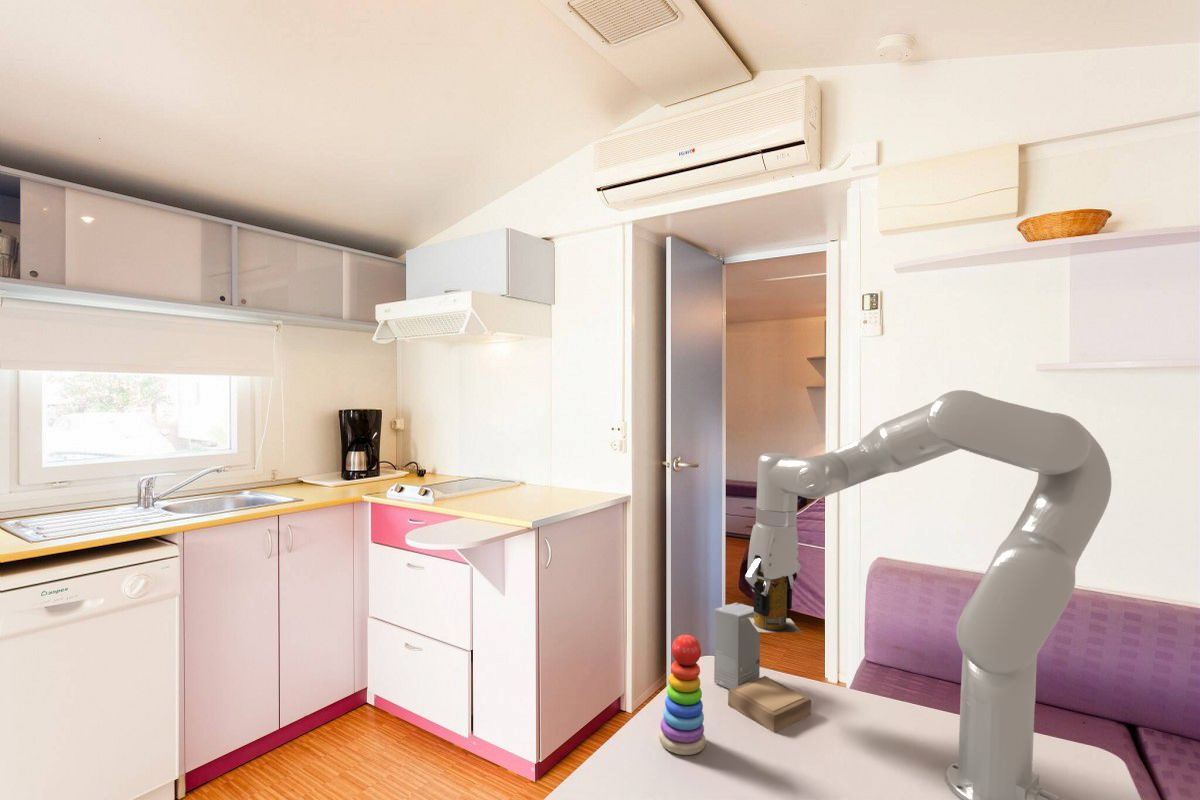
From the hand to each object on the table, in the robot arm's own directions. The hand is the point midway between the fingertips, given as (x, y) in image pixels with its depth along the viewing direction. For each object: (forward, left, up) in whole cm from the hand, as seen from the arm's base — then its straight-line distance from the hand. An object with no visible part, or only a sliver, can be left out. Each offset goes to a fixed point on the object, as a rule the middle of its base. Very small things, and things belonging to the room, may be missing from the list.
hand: (772, 609), depth 114 cm
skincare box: (+11, -3, -20) cm, 23 cm away
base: (0, 0, -20) cm, 20 cm away
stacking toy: (+1, +22, -20) cm, 29 cm away
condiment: (0, -1, -3) cm, 4 cm away
